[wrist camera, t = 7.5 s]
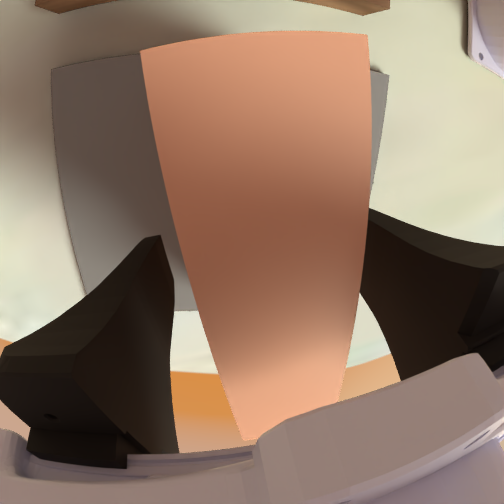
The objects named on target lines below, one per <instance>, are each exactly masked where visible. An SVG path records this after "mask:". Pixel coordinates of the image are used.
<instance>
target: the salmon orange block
mask: <svg viewBox="0 0 504 504" xmlns="http://www.w3.org/2000/svg"><path fill="white" fill-rule="evenodd" d="M140 54H141V61H142V68H143V74H144V81H145V87H146V93H147V99H148V104H149V110H150V115H151V121H152V126H153V131H154V136H155V141H156V146H157V151H158V156H159V161H160V165H161V170H162V174H163V179H164V183H165V188H166V192H167V196H168V200H169V205H170V209H171V213H172V217H173V221H174V225H175V229H176V233H177V237H178V241H179V244H180V248H181V252H182V256H183V259H184V263H185V267H186V270H187V274H188V277H189V281H190V284H191V288H192V291H193V295H194V298H195V301H196V305H197V308H198V311H199V315H200V318H201V321H202V324H203V328H204V331H205V334H206V337H207V340H208V343H209V346H210V350H211V353H212V356H213V359H214V362H215V365H216V368H217V370H218V373H219V376H220V379H221V382H222V385H223V388H224V391H225V393H226V396H227V399H228V402H229V404H230V407H231V410H232V412H233V415H234V418H235V421H236V423H237V426H238V428H239V431H240V434H241V436H242V439H243V440H244V441H245V440H251V439H257V438H259V437H260V436H261V435H262V434H263V433H265V432H266V431H268V430H270V429H271V428H273V427H275V426H276V425H278V424H279V423H281V422H283V421H284V420H286V419H288V418H291V417H294V416H297V415H300V414H303V413H306V412H309V411H311V410H314V409H317V408H319V407H323V406H326V405H330V404H334V403H337V402H338V398H339V394H340V390H341V386H342V382H343V377H344V373H345V369H346V364H347V359H348V354H349V349H350V344H351V339H352V334H353V328H354V323H355V317H356V311H357V305H358V298H359V292H360V285H361V278H362V270H363V262H364V253H365V244H366V234H367V224H368V211H369V197H370V179H371V150H372V106H371V78H370V61H369V48H368V37H367V35H364V34H354V33H342V32H325V31H269V32H252V33H239V34H229V35H221V36H213V37H206V38H199V39H193V40H187V41H182V42H176V43H171V44H166V45H162V46H157V47H153V48H149V49H145V50H141V51H140Z"/></svg>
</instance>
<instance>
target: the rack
mask: <svg viewBox="0 0 504 504" xmlns="http://www.w3.org/2000/svg"><path fill="white" fill-rule="evenodd" d="M111 1H117V0H36V1H35V6H38V7H41V8H44V9H47V10H50V11H53V12H55V13H58V14H60V13H63V12H67V11H70V10H74V9H78V8H82V7H87V6H91V5H96V4H101V3H106V2H111ZM295 1H301V2H307V3H312V4H317V5H322V6H327V7H331V8H335V9H339V10H343V11H347V12H351V13H355V14H358V15H362V16H364V15H367V14H371V13H375V12H379V11H383V10H388V9H390V0H295Z"/></svg>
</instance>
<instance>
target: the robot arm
mask: <svg viewBox="0 0 504 504" xmlns="http://www.w3.org/2000/svg"><path fill="white" fill-rule="evenodd" d="M468 55H469V57H470V59H471V60H473V61H475V62H476V63H478V64H480V65H481V66H483V67H485V68H487V69H488V70H490V71H491V72H493V73H495V74H496V75H498V76H499V77H501V78H502V79H504V0H468ZM360 294H361V295H362V297H363V298H364V300H365V302H366V303H367V305H368V306H369V308H370V309H371V311H372V313H373V314H374V316H375V318H376V320H377V322H378V324H379V326H380V328H381V330H382V332H383V335H384V337H385V339H386V341H387V344H388V346H389V349H390V351H391V354H392V356H393V359H394V361H395V365H396V368H397V370H398V373H399V376H400V379H401V381H400V382H397V383H395V384H392V385H389V386H387V387H384V388H381V389H378V390H375V391H372V392H369V393H366V394H363V395H360V396H357V397H354V398H351V399H348V400H344V401H341V402H337V403H334V404H330V405H326V406H323V407H319V408H317V409H314V410H311V411H309V412H306V413H303V414H300V415H297V416H294V417H291V418H288V419H286V420H284V421H283V422H281V423H279V424H278V425H276V426H275V427H273V428H271V429H270V430H268V431H266V432H265V433H263V434H262V435H261V436H260V437H259V439H258V440H257V443H256V445H250V446H244V447H237V448H230V449H222V450H213V451H204V452H192V453H179V448H178V442H177V436H176V430H175V422H174V414H173V405H172V394H171V378H170V348H171V337H172V327H173V317H174V307H175V287H174V278H173V274H172V271H171V268H170V265H169V261H168V258H167V255H166V251H165V248H164V245H163V241H162V238H161V235H156V236H150V237H145V238H144V239H142V240H141V241H140V242H139V243H138V244H137V245H136V246H135V247H134V249H133V250H132V251H131V252H130V253H129V254H128V255H127V256H126V257H125V258H124V259H123V260H122V262H121V263H120V264H119V265H118V266H117V267H116V268H115V269H114V270H113V271H112V272H111V273H110V274H109V275H108V276H107V277H106V278H105V279H104V280H103V281H102V282H101V283H100V284H99V285H98V286H97V287H96V288H95V289H94V290H92V291H91V292H90V293H89V294H88V295H87V296H85V297H84V298H83V299H82V300H81V301H79V302H78V303H77V304H75V305H74V306H73V307H71V308H70V309H69V310H67V311H66V312H65V313H63V314H62V315H61V316H59V317H58V318H56V319H55V320H53V321H52V322H50V323H48V324H47V325H45V326H44V327H42V328H40V329H39V330H37V331H35V332H33V333H32V334H30V335H28V336H26V337H24V338H22V339H20V340H18V341H16V342H14V343H12V344H10V345H8V346H6V347H5V348H4V350H3V352H2V354H1V357H0V400H1V401H2V402H3V403H4V404H5V405H6V406H7V407H8V408H9V409H10V410H11V411H12V412H13V413H14V414H15V415H17V416H18V417H19V418H20V419H21V420H22V421H23V422H25V423H26V424H27V425H28V426H29V427H31V428H30V433H29V437H28V441H27V440H26V439H25V438H23V437H22V436H21V435H19V434H17V433H15V432H13V431H10V430H7V429H1V428H0V504H504V451H503V449H502V448H501V446H500V444H499V442H501V441H502V440H503V439H504V246H494V245H487V244H480V243H474V242H469V241H464V240H460V239H456V238H451V237H448V236H444V235H441V234H437V233H434V232H431V231H427V230H424V229H421V228H419V227H416V226H413V225H411V224H408V223H405V222H403V221H400V220H398V219H395V218H393V217H390V216H388V215H386V214H383V213H381V212H378V211H376V210H373V209H371V208H369V211H368V224H367V234H366V244H365V253H364V262H363V270H362V278H361V285H360Z"/></svg>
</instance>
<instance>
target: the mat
mask: <svg viewBox="0 0 504 504" xmlns="http://www.w3.org/2000/svg"><path fill="white" fill-rule="evenodd" d="M370 78H371V106H372V150H371V179H370V194H371V189H372V184H373V179H374V174H375V169H376V164H377V158H378V153H379V147H380V141H381V135H382V128H383V122H384V115H385V107H386V100H387V91H388V83H389V75H387V74H383V73H379V72H375V71H371V70H370ZM51 95H52V116H53V129H54V140H55V149H56V158H57V165H58V172H59V179H60V185H61V191H62V197H63V202H64V207H65V212H66V217H67V222H68V226H69V231H70V235H71V239H72V243H73V247H74V251H75V255H76V259H77V262H78V266H79V270H80V273H81V276H82V280H83V283H84V286H85V290H86V293H87V295H88V294H89V293H90V292H91V291H92V290H94V289H95V288H96V287H97V286H98V285H99V284H100V283H101V282H102V281H103V280H104V279H105V278H106V277H107V276H108V275H109V274H110V273H111V272H112V271H113V270H114V269H115V268H116V267H117V266H118V265H119V264H120V263H121V262H122V260H123V259H124V258H125V257H126V256H127V255H128V254H129V253H130V252H131V251H132V250H133V249H134V247H135V246H136V245H137V244H138V243H139V242H140V241H141V240H142V239H144V238H145V237H150V236H156V235H161V238H162V241H163V245H164V248H165V251H166V255H167V258H168V261H169V265H170V268H171V271H172V274H173V278H174V287H175V307H174V311H198V308H197V305H196V301H195V298H194V295H193V291H192V288H191V284H190V281H189V277H188V274H187V270H186V267H185V263H184V259H183V256H182V252H181V248H180V244H179V241H178V237H177V233H176V229H175V225H174V221H173V217H172V213H171V209H170V205H169V200H168V196H167V192H166V188H165V183H164V179H163V174H162V170H161V165H160V161H159V156H158V151H157V146H156V141H155V136H154V131H153V126H152V121H151V115H150V110H149V104H148V99H147V93H146V87H145V81H144V74H143V68H142V61H141V54H133V55H125V56H118V57H111V58H104V59H98V60H92V61H87V62H82V63H77V64H72V65H68V66H63V67H59V68H55V69H51ZM369 199H370V197H369Z"/></svg>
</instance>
